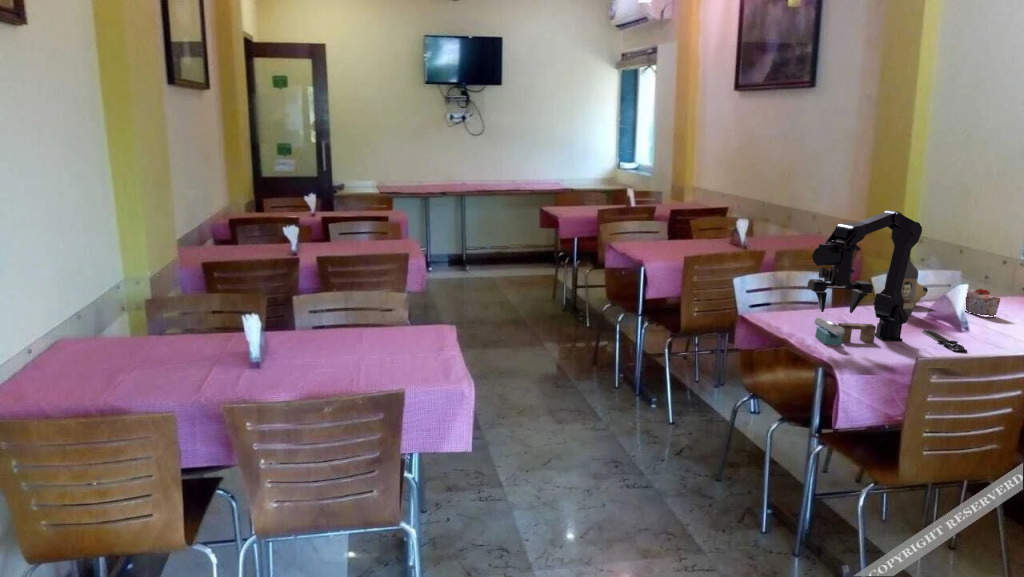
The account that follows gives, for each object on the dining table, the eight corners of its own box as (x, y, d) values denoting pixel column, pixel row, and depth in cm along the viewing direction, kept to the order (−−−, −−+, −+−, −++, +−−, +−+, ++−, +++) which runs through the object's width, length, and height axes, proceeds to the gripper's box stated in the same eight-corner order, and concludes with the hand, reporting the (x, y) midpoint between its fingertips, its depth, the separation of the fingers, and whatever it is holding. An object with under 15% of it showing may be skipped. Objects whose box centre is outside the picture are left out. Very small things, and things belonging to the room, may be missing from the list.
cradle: (831, 337, 255) (832, 327, 255) (841, 344, 248) (842, 334, 247) (815, 337, 255) (816, 326, 255) (825, 344, 248) (826, 333, 247)
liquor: (878, 309, 295) (889, 232, 289) (901, 309, 296) (913, 233, 289) (891, 315, 287) (903, 236, 280) (914, 316, 287) (927, 237, 280)
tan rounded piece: (929, 307, 301) (934, 281, 299) (903, 308, 298) (907, 282, 296) (911, 301, 310) (915, 276, 308) (886, 302, 308) (890, 276, 305)
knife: (919, 331, 269) (919, 327, 268) (938, 332, 268) (939, 328, 268) (947, 352, 244) (948, 348, 244) (969, 354, 244) (970, 350, 243)
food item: (1000, 318, 289) (1005, 293, 286) (982, 319, 287) (987, 293, 285) (972, 309, 302) (976, 284, 299) (955, 309, 300) (959, 285, 298)
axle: (823, 326, 259) (824, 316, 259) (844, 336, 243) (845, 326, 243) (814, 325, 259) (815, 316, 259) (834, 336, 243) (835, 326, 243)
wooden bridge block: (869, 339, 255) (871, 323, 253) (873, 342, 252) (875, 326, 250) (836, 338, 254) (838, 322, 253) (840, 341, 252) (842, 325, 250)
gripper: (861, 260, 250) (854, 307, 254) (804, 258, 250) (798, 305, 253) (877, 267, 239) (869, 315, 243) (817, 265, 239) (811, 313, 242)
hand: (836, 312), depth 246 cm, fingers open, 9 cm apart
